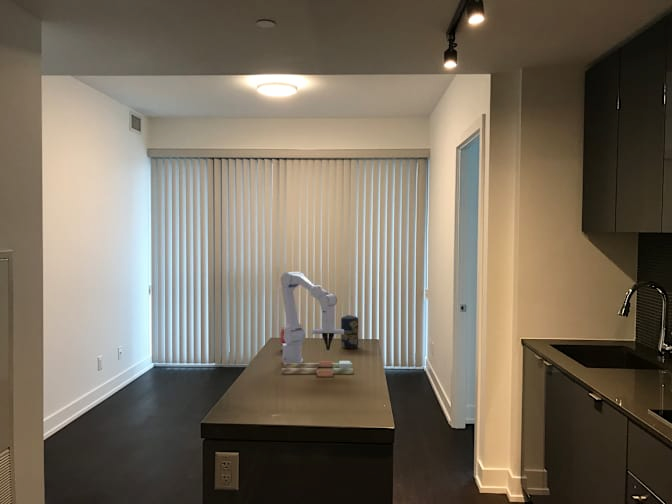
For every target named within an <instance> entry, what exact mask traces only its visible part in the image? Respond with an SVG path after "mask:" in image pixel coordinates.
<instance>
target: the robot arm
mask: <svg viewBox="0 0 672 504" xmlns="http://www.w3.org/2000/svg"><path fill="white" fill-rule="evenodd" d="M280 283H281V285H280V286H281V293H282V299H283V306H284V311H285V312H284V313H285V318H286V326H285V328H284V341H285V342H286V343H285V344H283V350H282V364H284V363H303V361H304V358H302V357H303V348H302V347H303V343H304V341H305V338H306V333H305V331H304V327H303V325H302V324H300V323H299V319H298V314H297V307H296V301H295V295H294V294H295V293H294V291H295V290H296V288H298V287H299V285H300V286H302V287H303V288H304V289H306V290H308V291H309V293H310V296H312V297H313V298H314V299H315V300H316V301H318V303H319V306H320V310H321V328H314V329H313V328H312V331H311V332H312V333H311V334H312V335H322V339H323V341H324V343H325V348H326V351H330V350H331V349H330V348H331V343H332V341H333V339H334V336H335V335H341V334H344V329H341V328H335V306H336V305H337V304H338V298H337V296H336V295H335V294H334V293H330V292H328V291H327V290H325V289H324V288H323V287H322V285H318V284H317V285H315V284H314V283H313V282H311V281H310V280H309V279H308V278H307V277H306V275H305V274H304V273H303V272H301V271H300V270H299V271H298V270H297V271H289V272H288V271H287V272H285V271H284V272H283V273H282V274H281V276H280ZM292 329H293V330H292Z"/></svg>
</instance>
